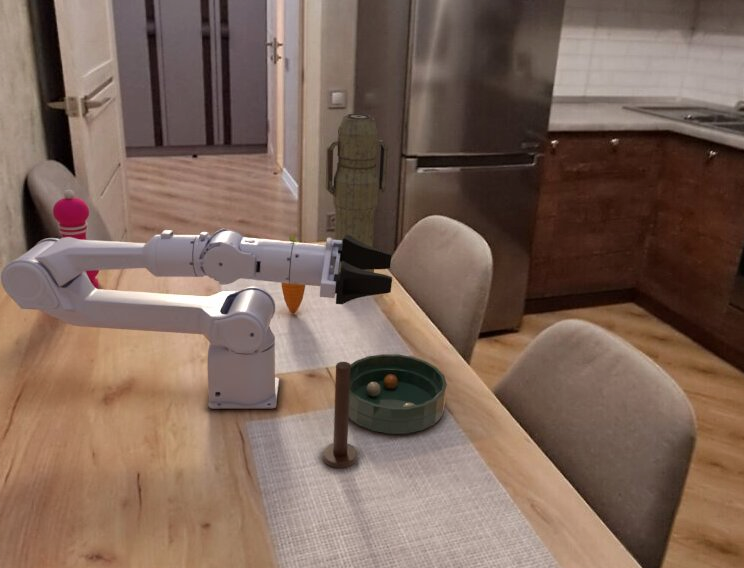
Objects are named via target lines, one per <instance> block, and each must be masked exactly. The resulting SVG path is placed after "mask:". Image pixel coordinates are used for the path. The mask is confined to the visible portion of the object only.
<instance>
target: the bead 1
mask: <svg viewBox="0 0 744 568" xmlns="http://www.w3.org/2000/svg"><path fill="white" fill-rule="evenodd" d="M380 391H381V387H380V385H379V384H378V383H377V382H370V383H369V384H368V385H367V387H366V392H367V394H368V395H369V396H372V397H375V396H377V395H379V393H380Z"/></svg>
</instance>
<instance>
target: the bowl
mask: <svg viewBox="0 0 744 568" xmlns="http://www.w3.org/2000/svg"><path fill="white" fill-rule="evenodd" d="M350 365H351V370H350V394H349V418H348V419H350V420H351V421H352V422H354V423H355V424H356V425H358V426H361V427H362V428H365V429H367V430H371V431H373V432H378V433H379V432H380V433H384V434H393V435H394V434H411V433H415V432H420V431H422V430H425V429H427V428H430V427H431V426H434V425H436V423H437V422H438V421H440V419H441V418H442V417H443V415H444V412H445V408H446V398H447V389H448V382H447V380H446V376H445V375H444V373H443V372H442V371H441V370H440V369H439V368H438V367H437V366H435V365H434V364H432V363H430V362H429V361H426V360H423V359H421V358H418V357H415V356H411V355H404V354H397V353H380V354H373V355H368V356H365V357H362V358H359V359H357V360H355V361H354V362H352V363H350ZM389 374H392V375H395V376H396V377H397V379H398V384H397V386H396V387H395V388H393V389H389V388H387V387H385V385H384V378H385V377H386V376H387V375H389ZM370 382H377V383H378V384H379V385H380V387H381V391H380V393H379V395H377V396H375V397H372V396H369V395H368V394H367V392H366V387H367V385H368V384H369V383H370ZM406 403H413V404H415V405H414V406H408V407H403V406H404V404H406Z"/></svg>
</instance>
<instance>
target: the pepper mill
mask: <svg viewBox="0 0 744 568" xmlns="http://www.w3.org/2000/svg"><path fill="white" fill-rule="evenodd" d="M52 214H53V218H54V219H55V220H56V221H57V222H58V224H57V227H58V232H59V234H61V238H65V237H72V238H76V239H80V240H88V239H87V232H88V231H89V227H88V225H89V224H88V222H87V219H88V218H89V216H90V209H89V206H88V204H87V203H86V202H85V201H84V200H83V199H81V198H79V197H75V191H73V190H72V189H66V190H64V192H63V198H60V199H58V200H57V201H56V202H55V204H54V205H53V208H52ZM99 272H100V270H91V271H86V273H87V275H88V278H89V280H90V282H91V283H92V285H93V286H94V287H95V288H96V289H100V287H99V280H98V278H96V277H97V276H98V274H99Z"/></svg>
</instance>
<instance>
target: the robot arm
mask: <svg viewBox="0 0 744 568" xmlns="http://www.w3.org/2000/svg"><path fill="white" fill-rule="evenodd" d="M392 254H393V253H390V252H387V251H385V250H382V249H379V248H376V247H374V246H373V247H370V246H368V245H365V244H363V243H361V242H359V241H358V240H356V239H354V238H353V237H352V236H350V235H348V234H344V235H343V244H342V240H334V239H333V238H332V237H326V242H325V244H317V243H316V244H315V243H306V242H301V243H298V242H297V241H296V242H291V241H290V240H289V241H288V240H279V239H267V238H255V237H245V236H244V235H243V234H242V233H241V232H239V231H236V230H233V229H228V228H220V229H218V230H217V231H215V232H213V233H212V235H211V234H210V233H209V232H208V231H201V232H200V233H199V234H174V231H173V230H168V229H164V230H163V231H162V232H161V233H160V234H154V235H153V236H152V237H151V238H150V239H149V240H148V241H147V242H129V241H113V240H112V241H111V240H110V241H109V240H93V239H87V240H80V239H76V238H72V237H65V238H63V237H61V238H57V237H48V238H47V237H46V238H44V239H41V240H40V241H37V243H36V244H35V245H34V246H33V247H31V248H30V249H29V250H27V251H26V252H25V253H23V254H22V255H21V256H19V257H18V258H15V259H13V260H11V261H9V262H8V263H6V264H5V266H4V267H3V269H2V270H1V274H0V283H1V286H2V288H3V290H4V292H5V293H6V294H7V295H8V296H9V297H10V298H11V299H12V300H13V302H14V303H15V304H16V305H17V306H18V307H19V308H20V309H22V310H31V311H32V310H33V311H39V312H42V313H45V314H47V315H49V316H51V317H54V318H55V319H57V320H60V321H62V322H64V323H66V324H69V325H70V326H75V327H82V328H97V329H114V330H127V331H130V330H132V331H143V332H144V331H145V332H159V333H173V334H175V333H176V334H189V335H191V334H193V335H203V337H204V338H205V339H206V340H207V341H208V342H209V345H208V351H207V385H208V408H209V409H213V410H214V409H215V410H216V409H220V410H221V409H226V410H227V409H231V410H234V409H236V410H237V409H241V410H242V409H246V410H247V409H249V410H251V409H252V410H253V409H255V410H256V409H259V410H260V409H276V408H277V402H278V395H279V387H280V378H279V377H276V342H275V340H276V339H275V338H276V337H275V334H274V332H273V331H272V329H271V327H270V325H271V321H272V319H273V317H274V315H275V313H276V303H275V300H274V298H273V296H272V294H270V292H269V291H267V290H266V289H264V288H261V287H258V286H247V287H244V288H241V289H238V290H224V291H220V292H218V293H215V294H212V295H209V296H206V295H205V296H204V295H189V294H177V293H176V294H174V293H162V292H161V293H160V292H146V291H133V290H132V291H131V290H117V289H101V288H99V289H96V288H95V287H94V286H93V285H92V283H91V282H90V280H89V278H88V275H87V273H86V271H91V270H99V271H109V270H131V269H132V270H133V269H146V270H147V271H148V272H149V273H150V274H152V275H153V276H154V277H157V278H204V277H206V276H207V277H208V278H210V279H213V280H214V281H216V282H218V283H219V285H222V286H224V285H230V284H232V283H235V282H236V281H238V280H240V279H241V280H252V281H253V280H254V281H262V282H272V283H280V284H282V283H291V284H301V285H305V286H312V287H319V290H320V291H319V297H320V298H329V299H335V305H344V304H346V303H348V302H351V301H354V300H356V299H360V298H364V297H371V296H377V295H379V296H380V295H385V294H390V293H391V292H392V284H393V277H392V276H390V275H387V274H383V273H378V272H375V271H374V272H369V271H365V269H374V270H388V269H391V263H392V256H393V255H392ZM335 260H336V262H335ZM339 261H341V271H340V272H339V274H338V268H339ZM334 263H335V269H334V275H332V273H333V268H334Z"/></svg>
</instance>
